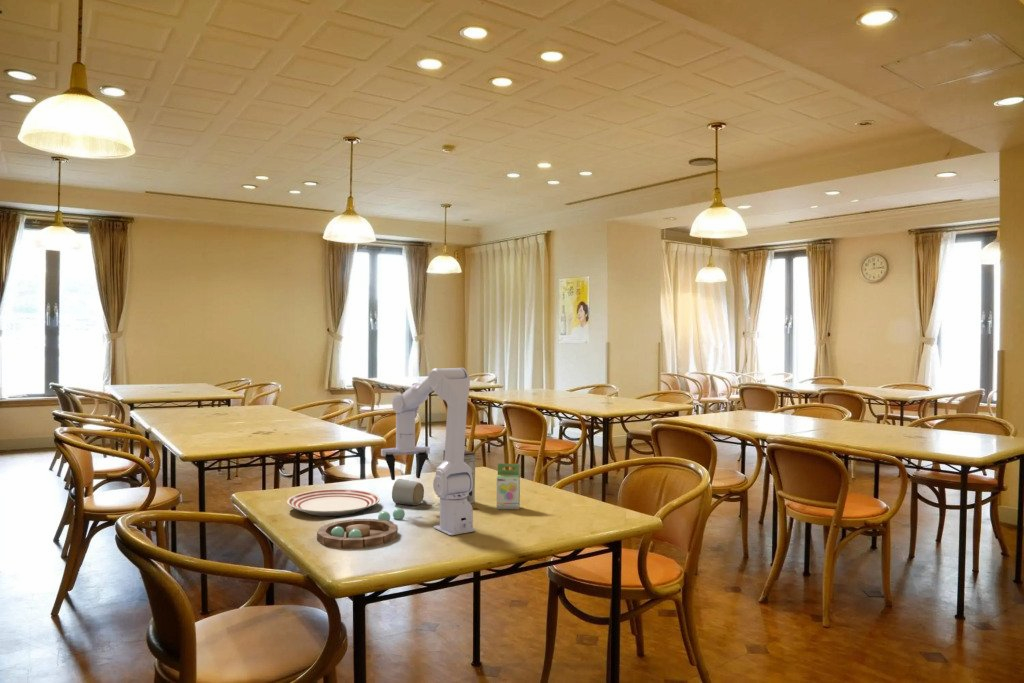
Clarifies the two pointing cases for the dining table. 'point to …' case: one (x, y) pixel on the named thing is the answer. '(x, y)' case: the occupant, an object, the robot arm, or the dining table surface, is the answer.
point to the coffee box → (470, 460)
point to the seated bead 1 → (337, 532)
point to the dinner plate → (333, 501)
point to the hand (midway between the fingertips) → (405, 478)
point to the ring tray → (373, 540)
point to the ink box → (508, 487)
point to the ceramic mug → (407, 492)
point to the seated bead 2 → (355, 534)
